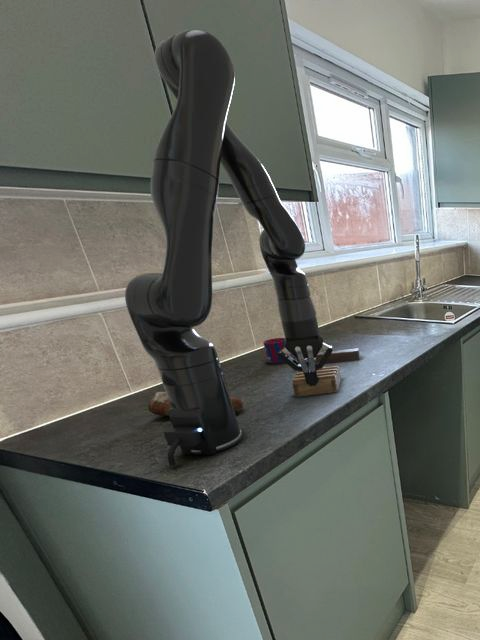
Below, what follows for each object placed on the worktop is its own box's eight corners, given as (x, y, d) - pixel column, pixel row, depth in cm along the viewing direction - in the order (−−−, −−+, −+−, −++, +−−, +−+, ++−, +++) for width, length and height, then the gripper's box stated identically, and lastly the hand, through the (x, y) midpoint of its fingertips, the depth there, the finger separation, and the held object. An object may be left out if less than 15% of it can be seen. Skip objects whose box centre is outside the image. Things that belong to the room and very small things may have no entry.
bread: (170, 409, 100) (163, 388, 98) (249, 408, 99) (243, 386, 97) (149, 421, 94) (140, 398, 92) (232, 419, 93) (225, 397, 91)
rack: (337, 392, 107) (334, 376, 106) (295, 397, 105) (291, 381, 103) (341, 379, 116) (338, 364, 115) (302, 383, 114) (299, 368, 112)
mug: (266, 360, 134) (260, 340, 132) (298, 354, 140) (294, 334, 138) (271, 365, 129) (266, 344, 127) (305, 358, 135) (300, 338, 133)
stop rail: (359, 359, 133) (358, 350, 131) (298, 366, 128) (296, 356, 127) (360, 357, 135) (358, 348, 134) (300, 363, 131) (298, 354, 130)
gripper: (263, 322, 93) (281, 393, 99) (326, 317, 96) (340, 386, 102) (271, 315, 99) (287, 383, 106) (330, 311, 103) (342, 376, 109)
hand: (313, 384), depth 104 cm, fingers closed
